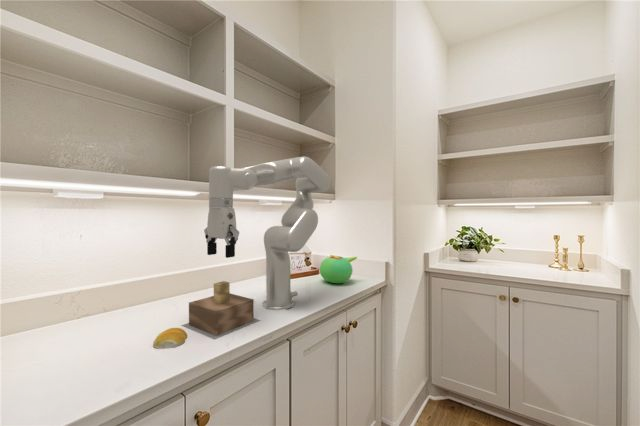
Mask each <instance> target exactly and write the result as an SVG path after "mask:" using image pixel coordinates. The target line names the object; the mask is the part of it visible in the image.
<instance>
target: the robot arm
mask: <svg viewBox="0 0 640 426" xmlns="http://www.w3.org/2000/svg"><path fill="white" fill-rule="evenodd" d="M208 171H209V172H208V177H209V178H208V215H207V227H206V228H205V229H204V230H203V231H204V232H203V233H204V236H205V237H204V238H205V239H206V243H207V244H206V245H207V253H206V254H207V255H208V256H211V255H217V253H218V251H217V247H218V246H217V242H216V241H217V240H218V239H222V240H225V243H226V245H225V258H226V259H228V258H235V256H236V245H237V241H238V240H239V236H240V231H239V230H238V229H237V220H236V219H237V218H236V217H237V216H236V211H235V208H234V202H233V201H234V199H233V198H234V192H236V191H237V192H238V191H249V190H251V189H253V188H254V187H256V186H269V185H274V184H279V183H282V182H286V181H290V180H295V179H296V180H295V192H296V198H295V199H294V201H293V203H291V205H290V206H289V207H288V208H287V210H286V211H285V212H284V213H283V215H282V216H281V221H280V222H281V225H274V226H270V227H269V228H267V229H266V231H264V235H263V244H264V245H263V246H264V251H265V257H266V258H265V259H266V260H265V262H266V263H265V264H266V267H265V268H266V273H265V274H266V276H265V278H266V280H265V281H266V283H265V284H266V285H265V287H266V292H265V293H266V299H265V300H264V301H263V302H262V303H261V304H262V307H263V308H264V309H267V310H270V311H271V310H274V311H280V310H289V309H291V308H293V307H294V306H295V301H294V300H293V298H294V297H296V296H298V294H299V293H298V292H297V291H295V290H294V291H291V258H290V254H289V253H290V252H291V253H297V252H298V251H300V250H301V249H303V248H304V246H305V245H306V244H307V243H308V242H309V240H310V238H311V237H312V235H313V234H314V232H315V231H316V229H317V227H318V225H319V216H318V213H317V212H316V210H314V209H313V208H314V201H313V197H312V193H313V194H315V193H324V192H327V191H328V190H329V189H330V187H331V178H330V176H329V174H328V173H327V172H326V171H325V170H324V169H323V168H322V167H321V166H320V165H319V164H318V163H317V162H316V161H314V160H313V159H312V158H310V157H308V156H297V157H291V158H290V157H289V158H285V159H280V160H274V161H269V162H264V163H263V162H262V163H259V164H256V165H253V166H252V165H251V166H248V167H242V168H241V167H239V168H238V167H237V168H235V167H229V166H225V165H214V166H211V167H210V168H209V170H208Z"/></svg>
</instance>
